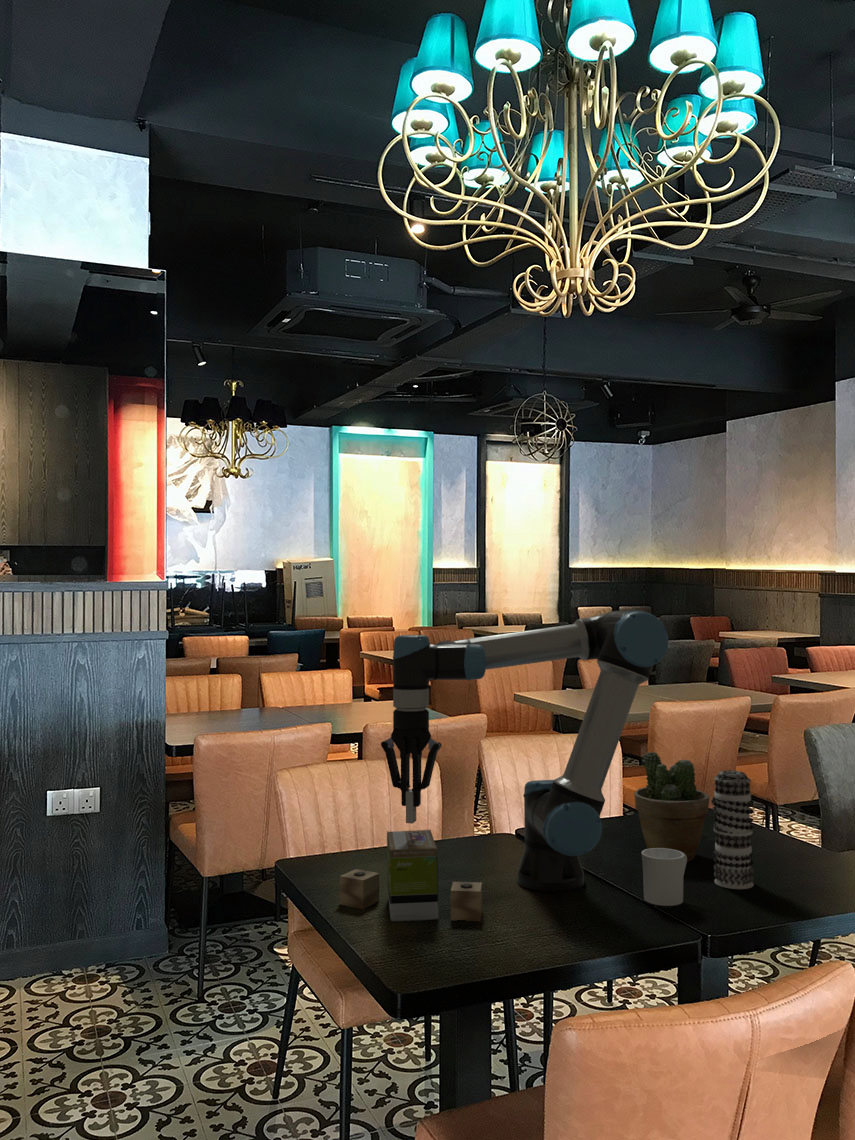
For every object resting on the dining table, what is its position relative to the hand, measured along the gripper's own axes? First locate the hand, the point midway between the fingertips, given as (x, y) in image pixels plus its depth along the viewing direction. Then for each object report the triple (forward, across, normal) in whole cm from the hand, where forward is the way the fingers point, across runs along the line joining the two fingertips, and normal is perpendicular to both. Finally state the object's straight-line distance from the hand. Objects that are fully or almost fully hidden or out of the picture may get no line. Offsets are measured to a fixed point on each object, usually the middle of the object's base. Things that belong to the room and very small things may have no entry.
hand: (411, 821), depth 196 cm
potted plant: (+18, -51, -56) cm, 78 cm away
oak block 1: (+18, +12, -1) cm, 22 cm away
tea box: (+18, 0, 0) cm, 18 cm away
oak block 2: (+18, -12, +1) cm, 22 cm away
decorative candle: (+18, -65, -36) cm, 77 cm away
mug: (+18, -51, -19) cm, 58 cm away
